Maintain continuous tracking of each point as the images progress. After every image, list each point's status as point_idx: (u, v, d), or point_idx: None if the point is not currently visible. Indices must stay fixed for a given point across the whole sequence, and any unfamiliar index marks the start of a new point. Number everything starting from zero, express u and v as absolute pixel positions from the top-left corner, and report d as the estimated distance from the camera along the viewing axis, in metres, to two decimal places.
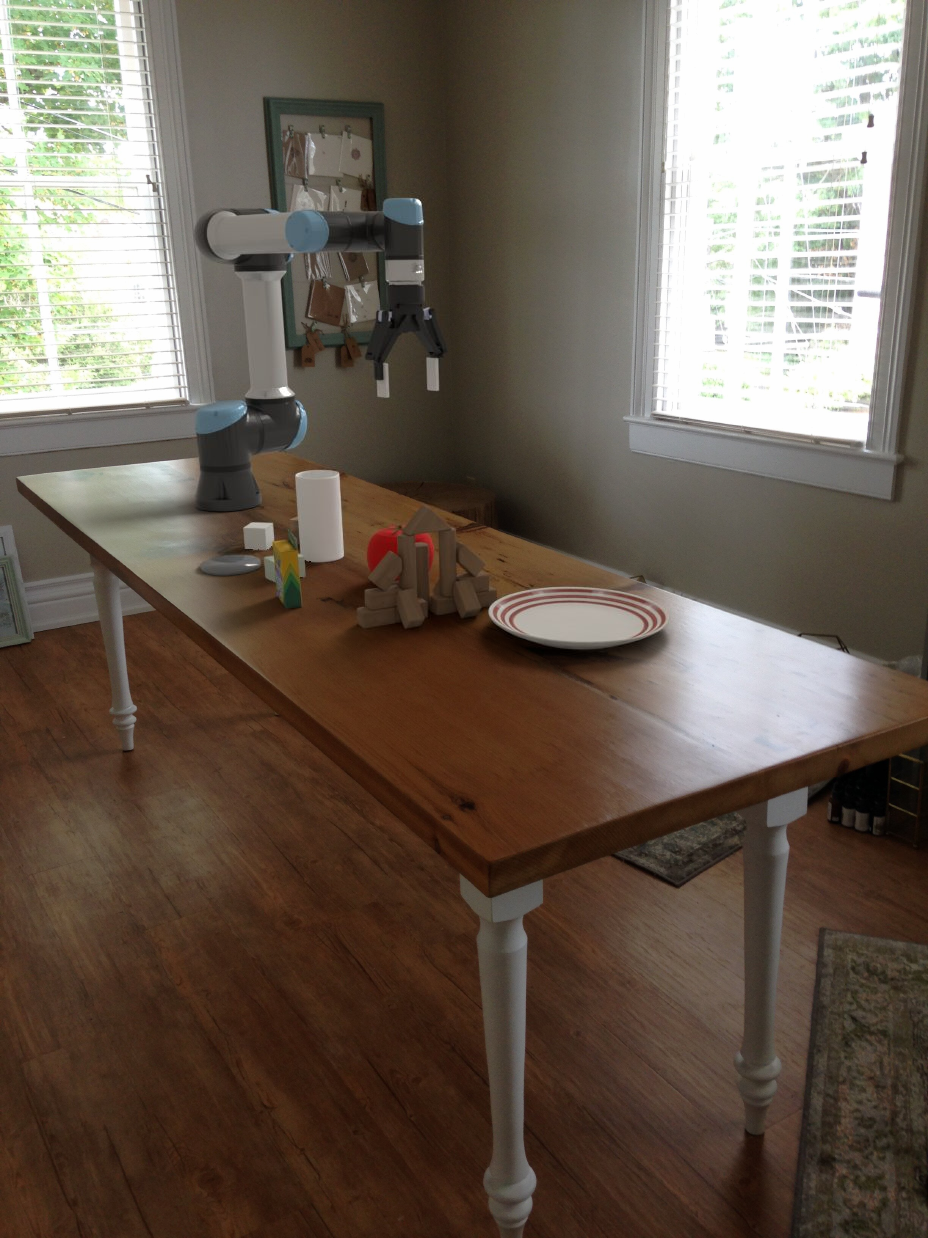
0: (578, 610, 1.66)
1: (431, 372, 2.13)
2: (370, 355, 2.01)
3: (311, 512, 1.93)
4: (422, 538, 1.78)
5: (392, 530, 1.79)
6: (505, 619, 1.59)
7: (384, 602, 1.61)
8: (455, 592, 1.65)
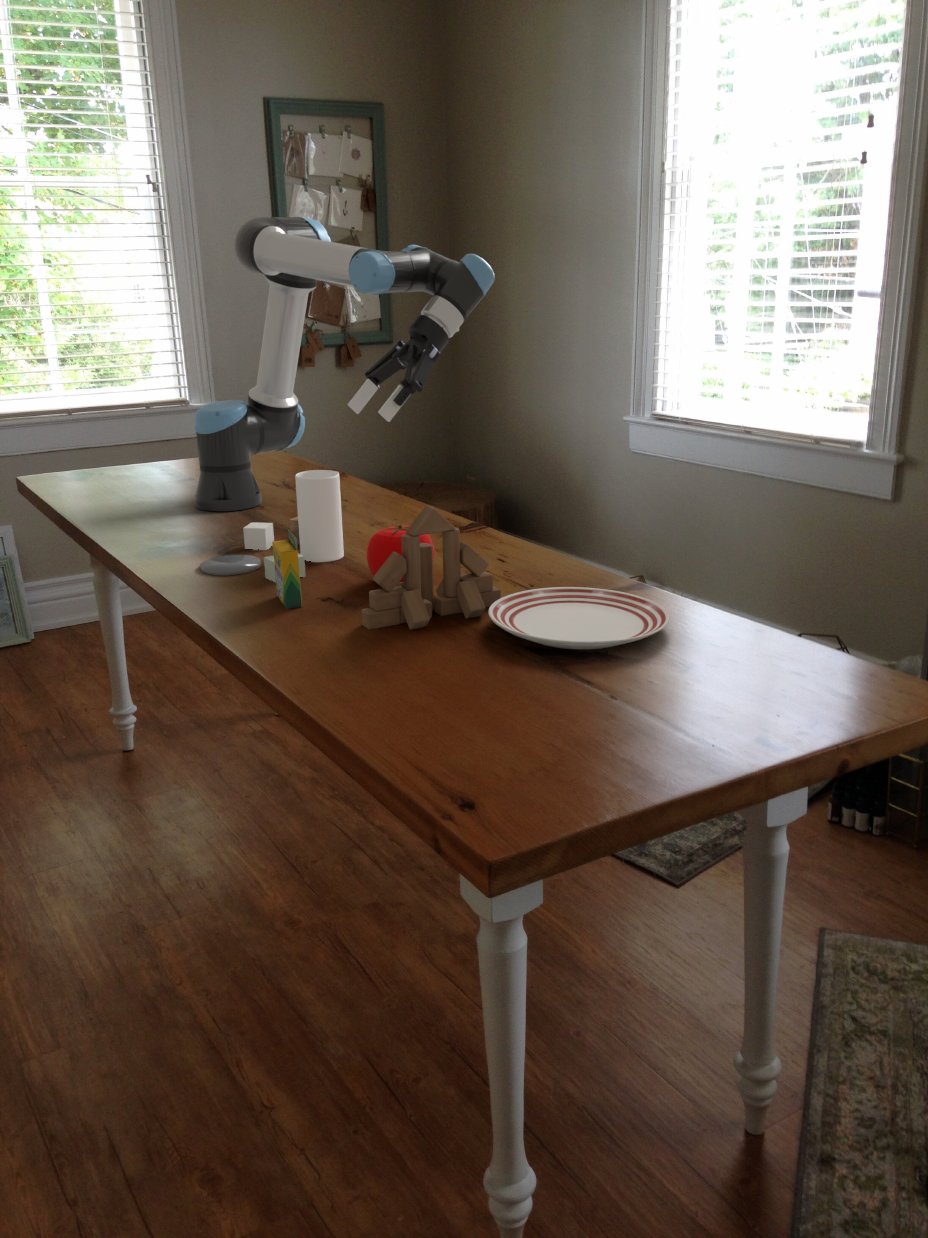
0: (578, 610, 1.66)
1: (365, 395, 2.02)
2: (419, 384, 1.89)
3: (311, 512, 1.93)
4: (422, 538, 1.78)
5: (392, 530, 1.79)
6: (505, 619, 1.59)
7: (389, 603, 1.61)
8: (459, 592, 1.65)
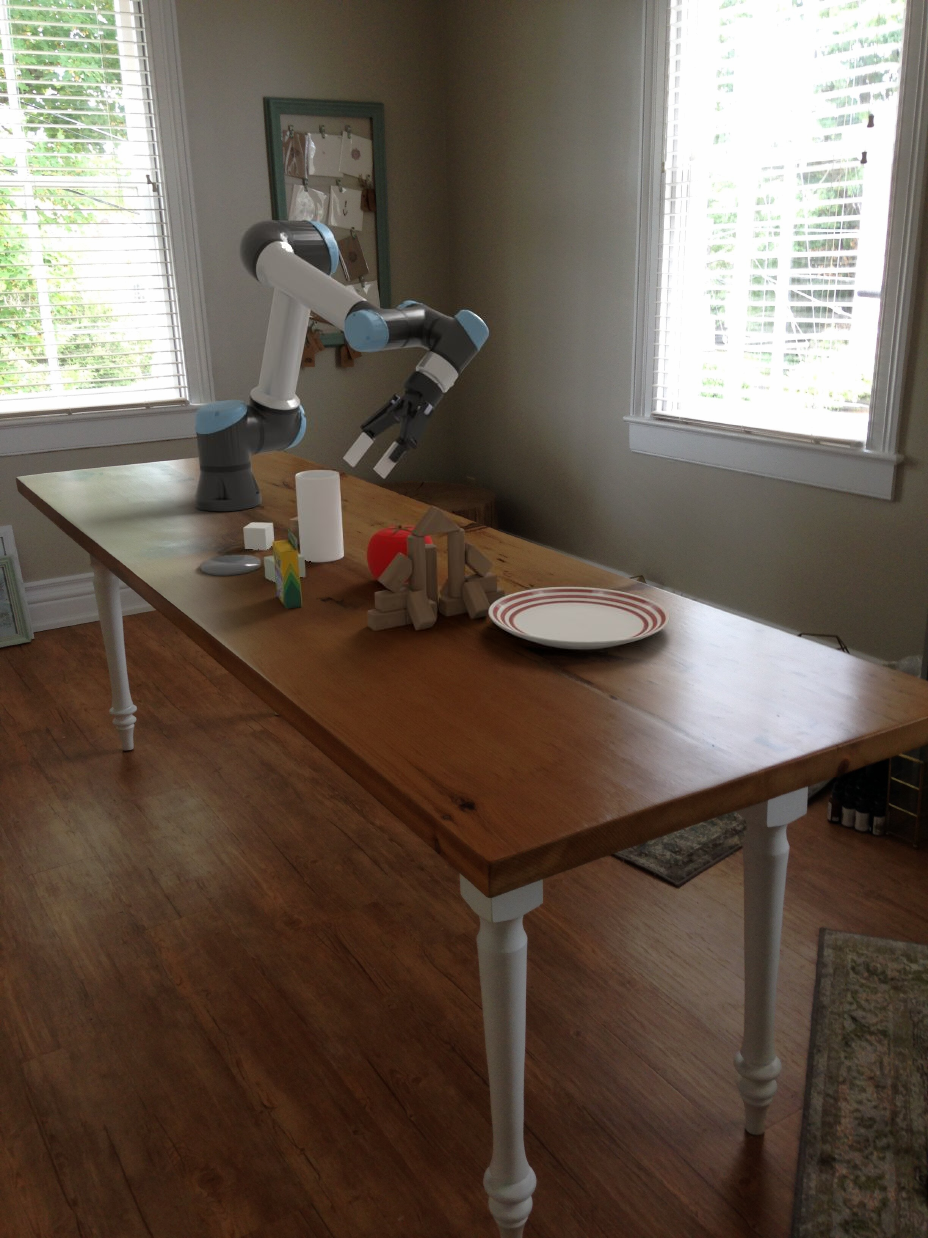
0: (578, 610, 1.66)
1: (360, 448, 2.04)
2: (414, 442, 1.92)
3: (311, 512, 1.93)
4: None
5: (392, 530, 1.79)
6: (505, 619, 1.59)
7: (395, 604, 1.60)
8: (464, 593, 1.65)
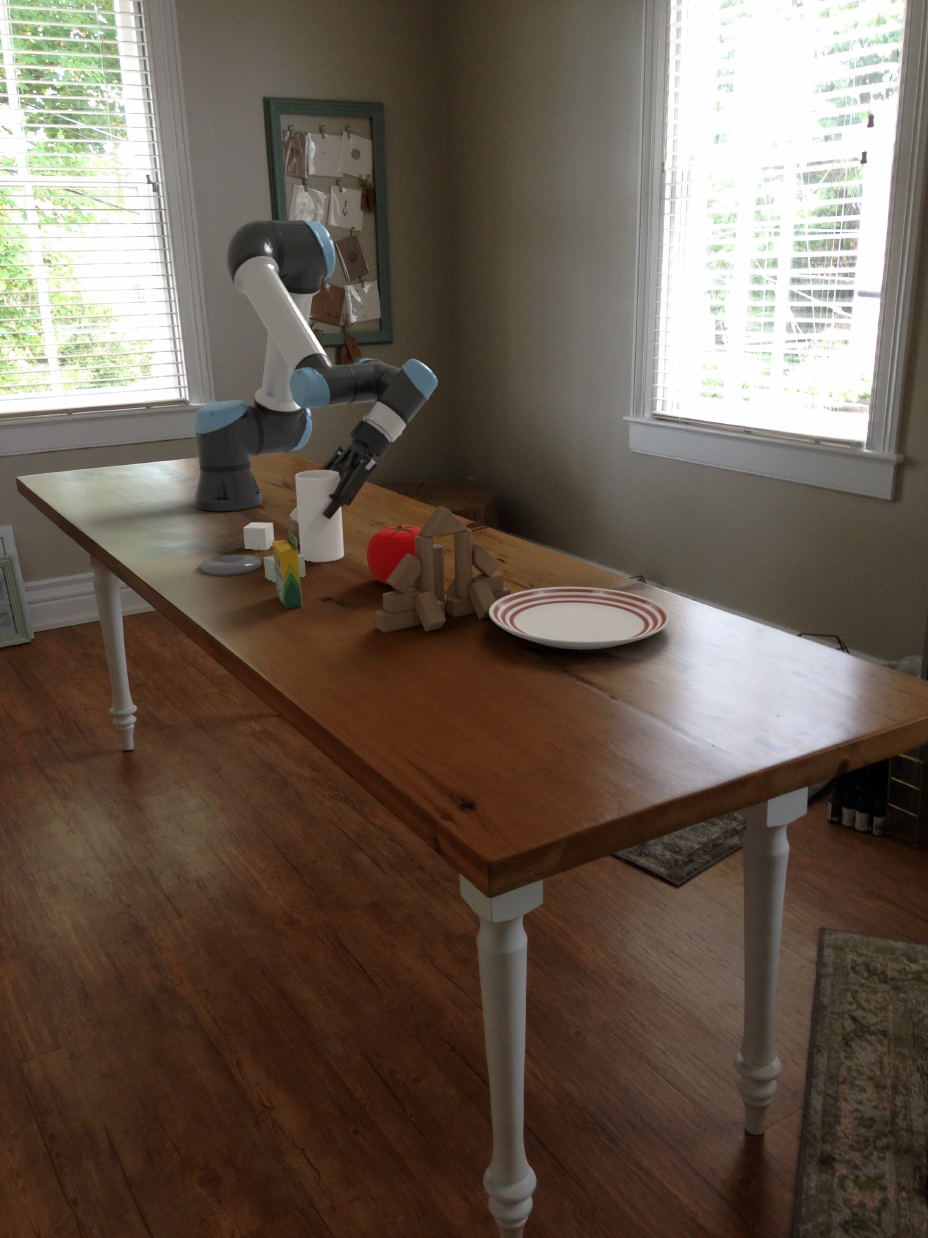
0: (579, 610, 1.66)
1: None
2: (347, 499, 1.91)
3: (311, 512, 1.93)
4: None
5: (392, 530, 1.79)
6: (505, 619, 1.59)
7: (404, 605, 1.60)
8: (472, 593, 1.65)
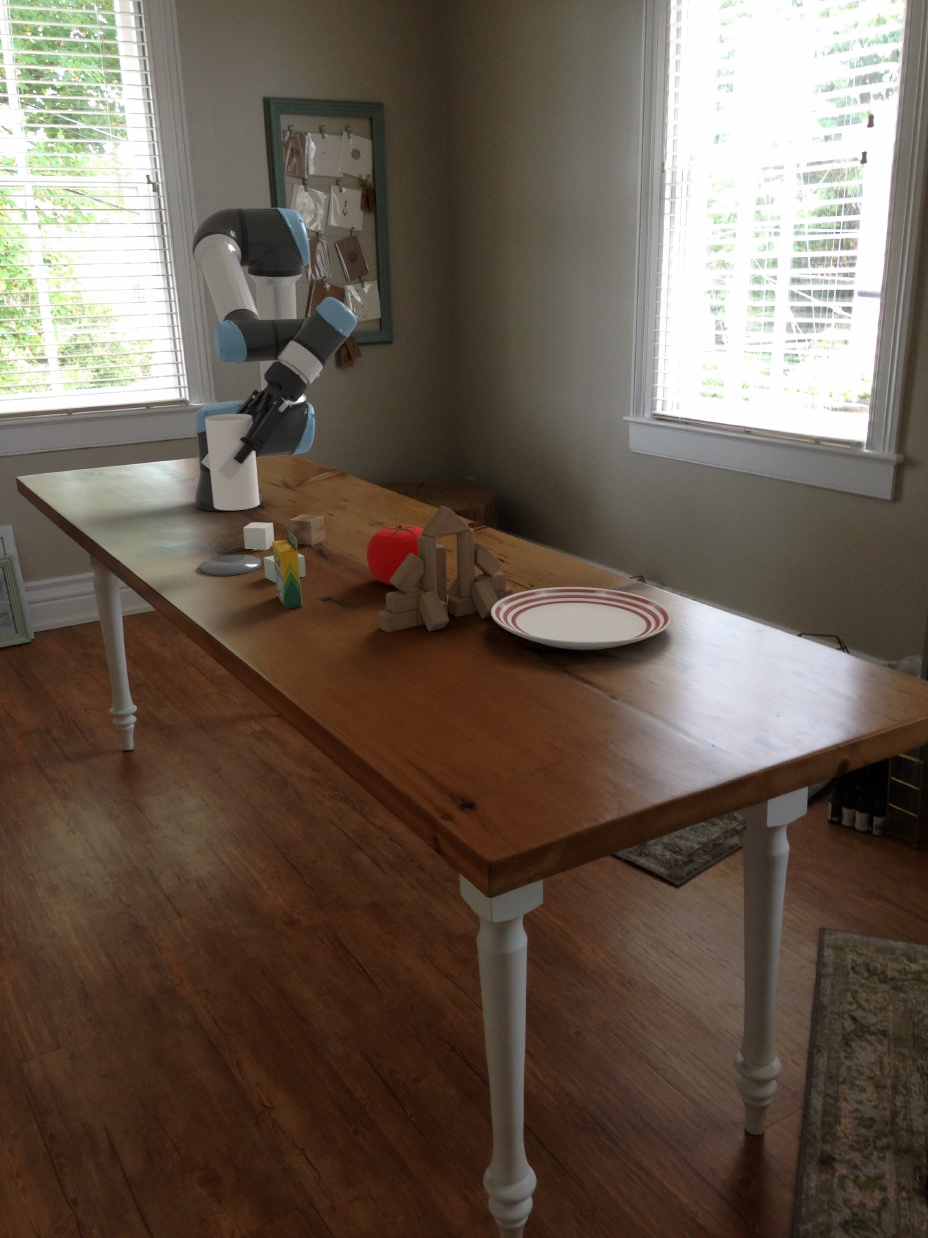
0: (581, 610, 1.66)
1: None
2: (259, 442, 1.82)
3: (222, 456, 1.84)
4: None
5: (392, 530, 1.79)
6: (507, 619, 1.59)
7: (407, 605, 1.60)
8: (475, 593, 1.65)
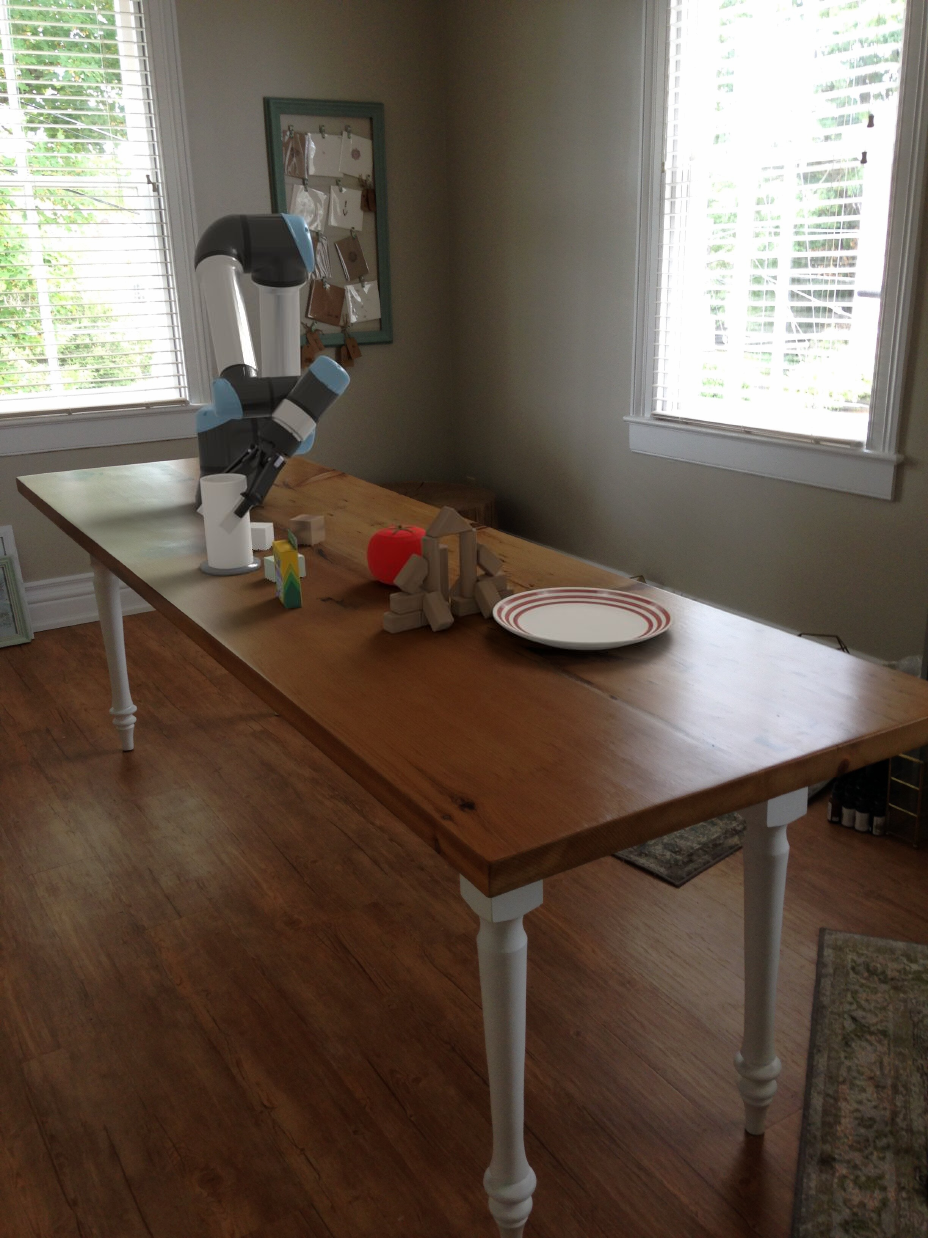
0: (583, 610, 1.66)
1: None
2: (259, 497, 1.83)
3: (216, 517, 1.87)
4: None
5: (392, 530, 1.79)
6: (509, 619, 1.59)
7: (411, 606, 1.59)
8: (477, 593, 1.65)
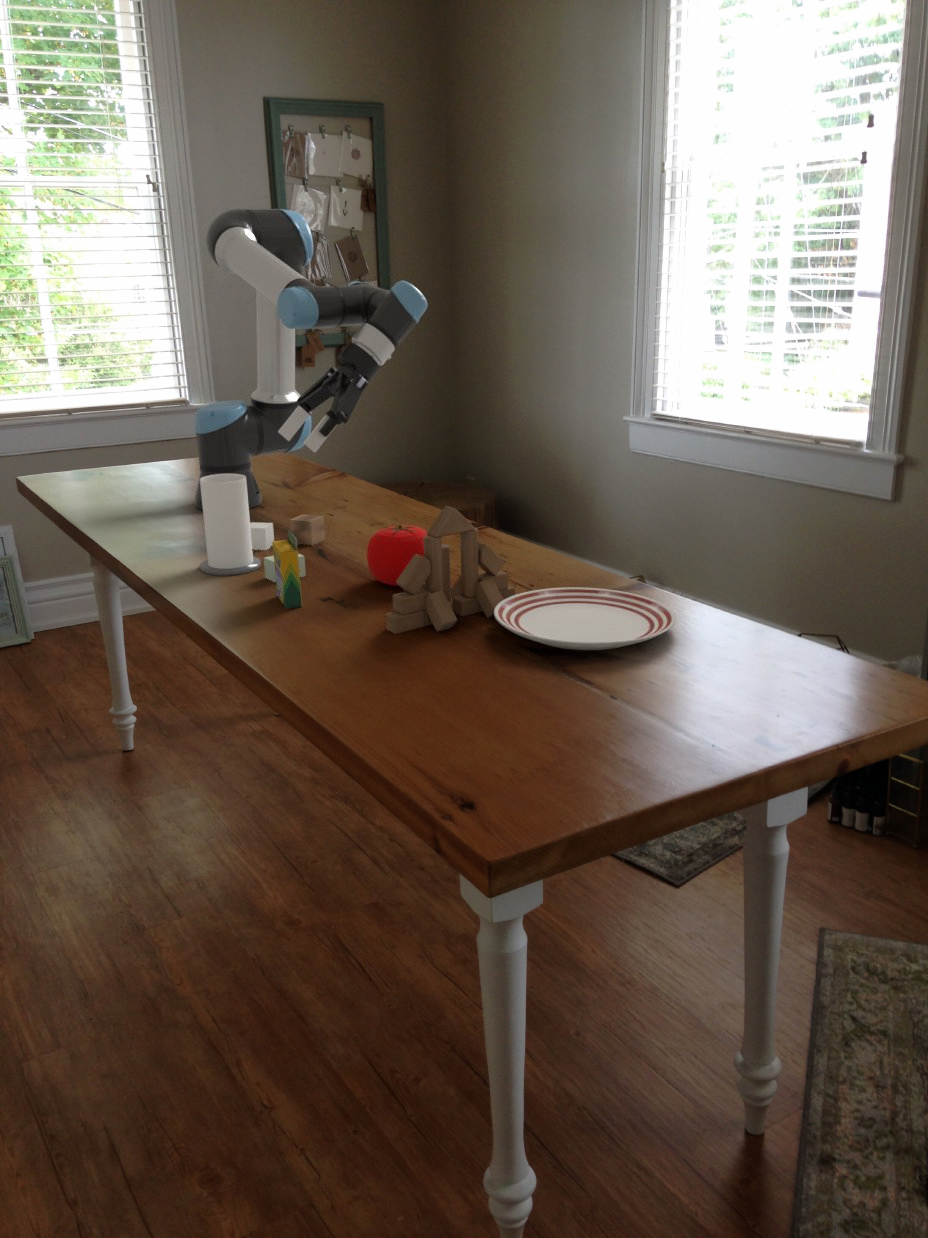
0: (584, 611, 1.65)
1: (295, 422, 2.00)
2: (344, 416, 1.87)
3: (216, 517, 1.87)
4: (422, 538, 1.78)
5: (392, 530, 1.79)
6: (510, 619, 1.59)
7: (414, 606, 1.59)
8: (479, 592, 1.65)
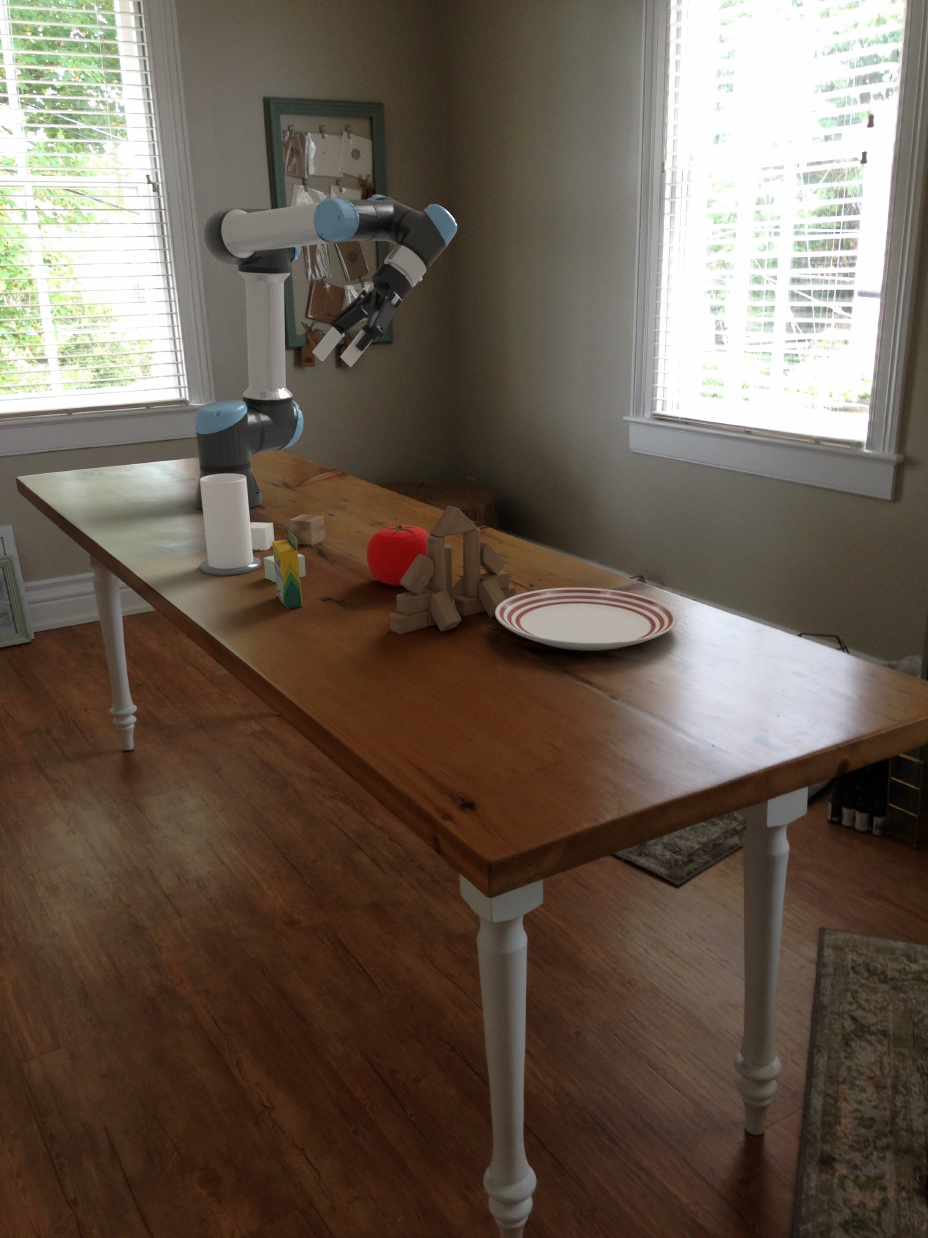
0: (585, 611, 1.65)
1: (329, 343, 2.06)
2: (380, 330, 1.94)
3: (216, 517, 1.87)
4: (422, 538, 1.78)
5: (392, 530, 1.79)
6: (512, 620, 1.59)
7: (418, 606, 1.59)
8: (482, 592, 1.65)
